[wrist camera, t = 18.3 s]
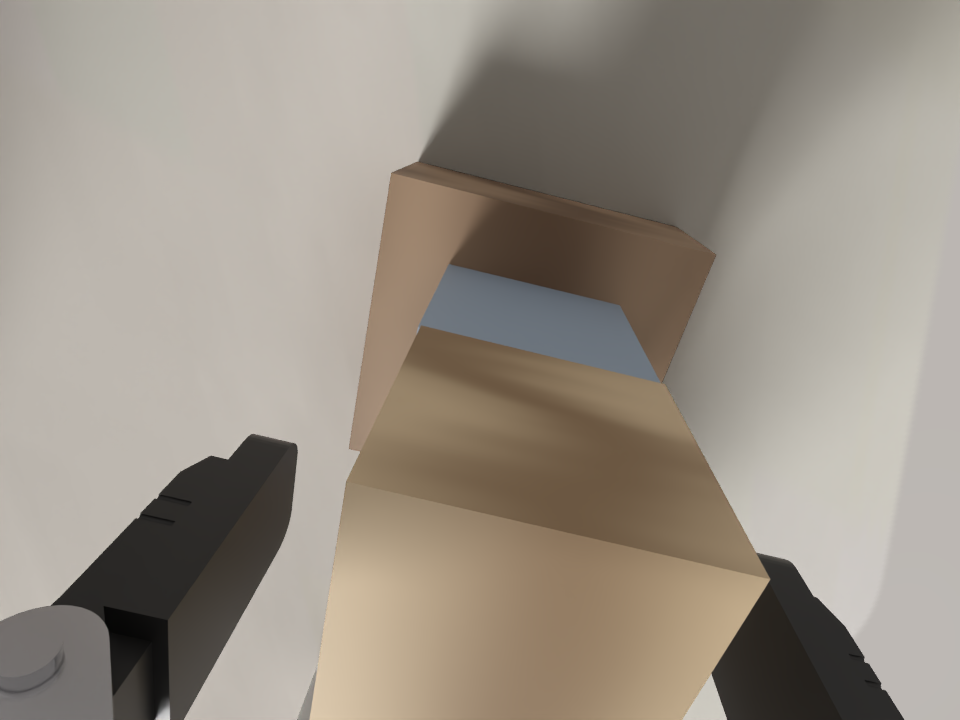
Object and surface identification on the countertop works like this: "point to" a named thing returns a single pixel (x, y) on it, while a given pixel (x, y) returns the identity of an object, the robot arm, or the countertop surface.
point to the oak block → (528, 548)
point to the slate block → (537, 321)
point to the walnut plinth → (518, 265)
